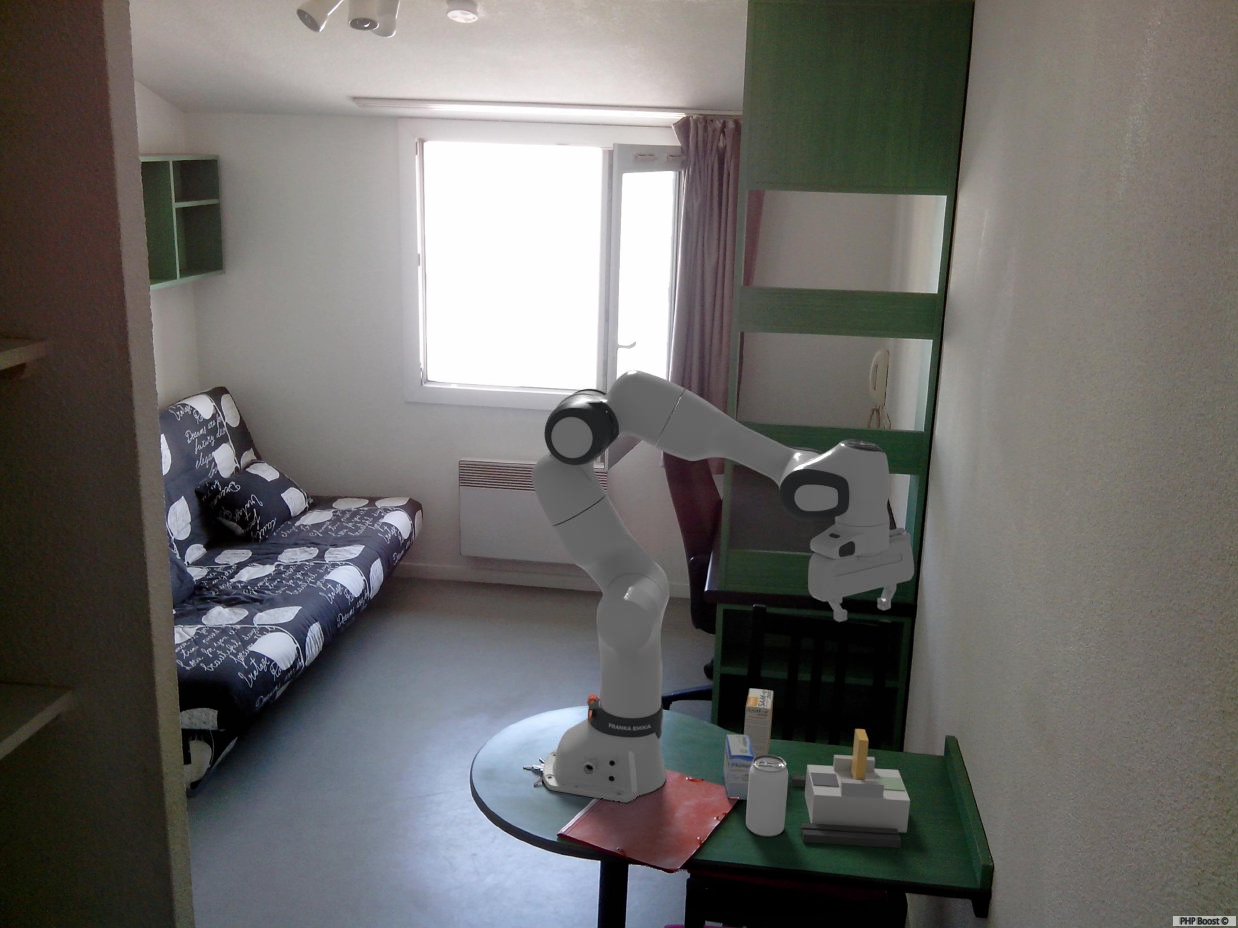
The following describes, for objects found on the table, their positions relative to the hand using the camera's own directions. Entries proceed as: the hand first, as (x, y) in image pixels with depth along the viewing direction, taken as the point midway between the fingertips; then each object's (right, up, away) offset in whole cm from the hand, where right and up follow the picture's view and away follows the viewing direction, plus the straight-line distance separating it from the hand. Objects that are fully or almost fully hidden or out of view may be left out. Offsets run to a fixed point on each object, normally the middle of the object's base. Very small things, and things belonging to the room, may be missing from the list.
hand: (862, 614), depth 179 cm
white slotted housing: (0, -35, +4) cm, 36 cm away
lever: (0, -28, +3) cm, 29 cm away
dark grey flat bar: (-3, -37, -2) cm, 37 cm away
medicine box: (-20, -33, +11) cm, 40 cm away
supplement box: (-16, -31, +21) cm, 40 cm away
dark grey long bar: (-2, -33, +13) cm, 36 cm away
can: (-17, -36, -1) cm, 40 cm away
